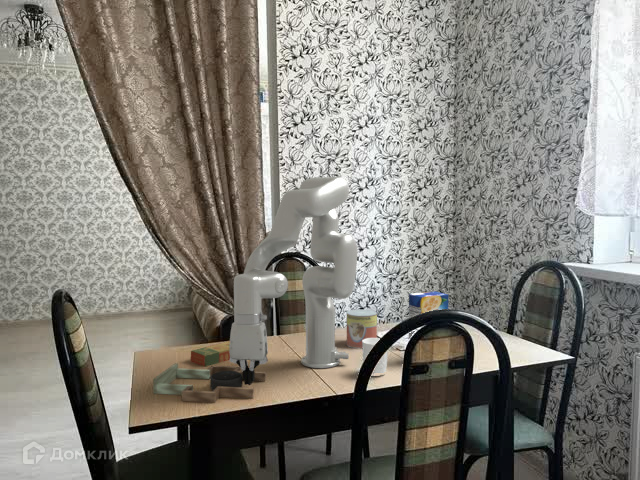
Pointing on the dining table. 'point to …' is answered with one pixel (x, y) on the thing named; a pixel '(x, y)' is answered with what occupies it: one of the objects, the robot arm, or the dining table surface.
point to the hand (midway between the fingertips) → (248, 383)
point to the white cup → (367, 346)
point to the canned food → (360, 326)
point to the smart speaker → (226, 379)
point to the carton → (211, 354)
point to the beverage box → (426, 303)
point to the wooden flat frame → (165, 378)
